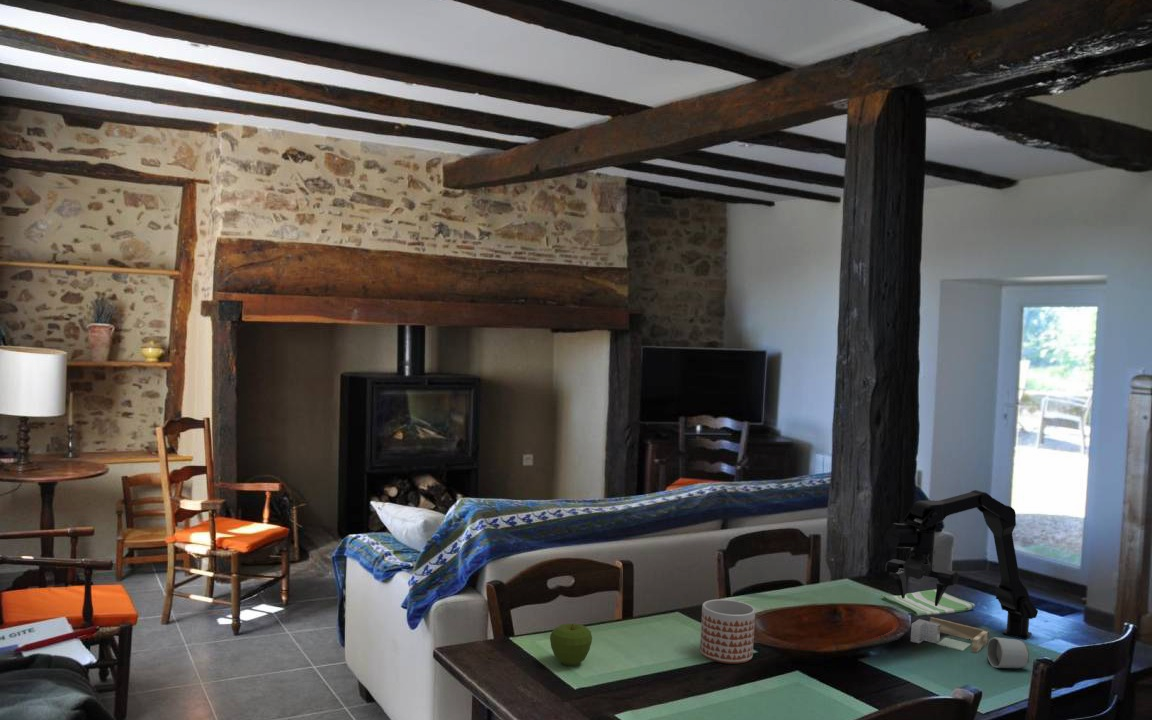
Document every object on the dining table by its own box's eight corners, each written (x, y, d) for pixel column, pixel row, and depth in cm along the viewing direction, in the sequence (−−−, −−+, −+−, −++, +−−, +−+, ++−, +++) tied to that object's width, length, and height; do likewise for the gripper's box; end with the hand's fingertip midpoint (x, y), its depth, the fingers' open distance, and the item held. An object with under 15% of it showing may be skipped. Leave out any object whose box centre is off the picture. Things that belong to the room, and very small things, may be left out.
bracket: (918, 636, 261) (919, 619, 261) (939, 641, 257) (940, 624, 257) (910, 641, 256) (911, 623, 256) (932, 646, 252) (933, 629, 252)
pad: (945, 638, 260) (945, 637, 260) (971, 645, 255) (971, 644, 255) (937, 644, 255) (937, 643, 254) (963, 651, 250) (963, 650, 250)
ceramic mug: (1030, 672, 236) (1032, 643, 236) (1000, 672, 236) (1002, 642, 235) (1007, 658, 247) (1009, 630, 247) (978, 657, 246) (980, 629, 246)
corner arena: (930, 628, 268) (931, 616, 268) (988, 643, 258) (989, 630, 258) (916, 637, 259) (917, 625, 259) (975, 653, 249) (976, 640, 249)
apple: (570, 652, 235) (572, 614, 234) (600, 664, 227) (602, 625, 227) (539, 661, 227) (541, 622, 227) (569, 674, 220) (571, 634, 219)
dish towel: (879, 600, 296) (879, 591, 296) (936, 596, 304) (937, 587, 304) (917, 617, 280) (917, 609, 279) (977, 612, 288) (977, 604, 288)
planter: (762, 655, 239) (765, 608, 239) (733, 668, 229) (736, 618, 229) (719, 641, 248) (721, 595, 248) (689, 653, 238) (692, 605, 238)
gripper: (879, 545, 255) (875, 600, 256) (947, 558, 243) (943, 616, 244) (894, 539, 264) (890, 592, 264) (961, 551, 252) (957, 607, 252)
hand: (919, 602), depth 256 cm, fingers open, 9 cm apart
